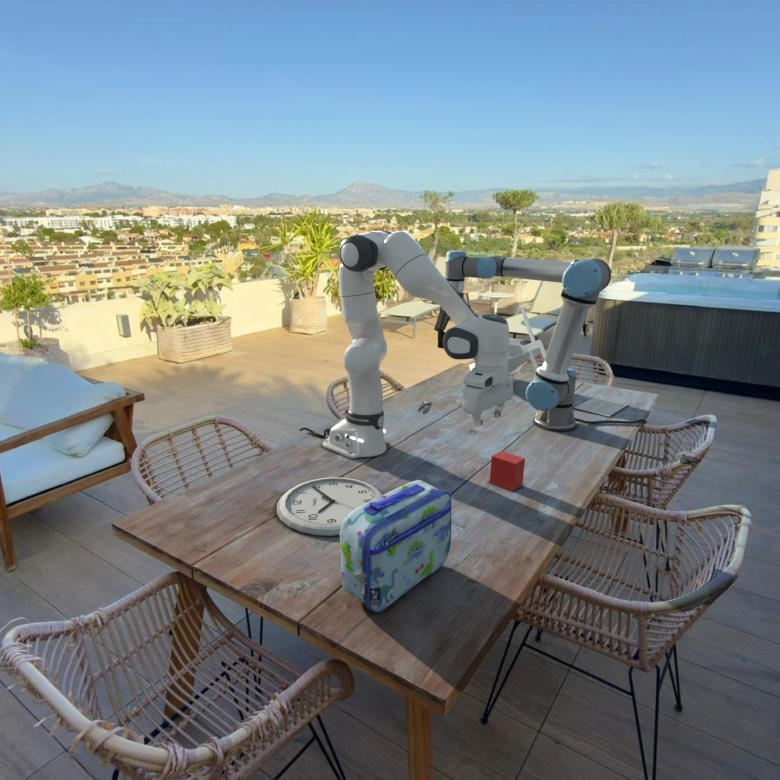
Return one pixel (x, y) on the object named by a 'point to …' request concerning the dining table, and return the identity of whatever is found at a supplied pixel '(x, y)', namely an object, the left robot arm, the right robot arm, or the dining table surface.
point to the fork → (425, 403)
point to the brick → (507, 470)
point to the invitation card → (601, 406)
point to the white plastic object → (523, 350)
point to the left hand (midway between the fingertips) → (487, 421)
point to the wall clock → (323, 504)
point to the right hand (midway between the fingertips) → (451, 345)
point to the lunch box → (394, 543)
